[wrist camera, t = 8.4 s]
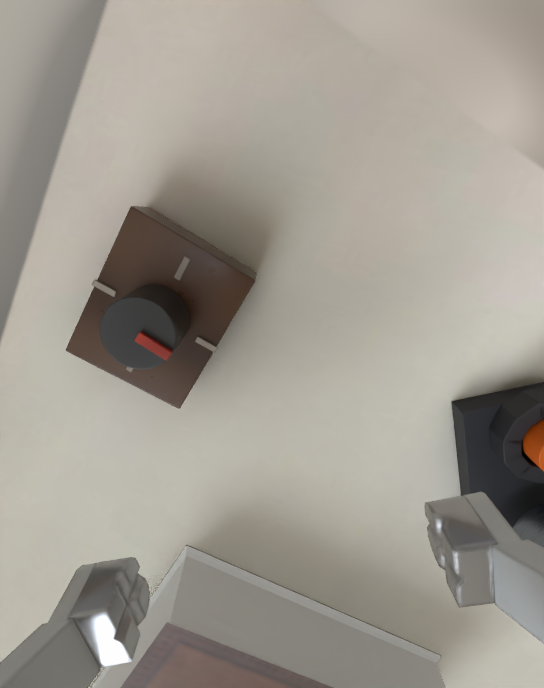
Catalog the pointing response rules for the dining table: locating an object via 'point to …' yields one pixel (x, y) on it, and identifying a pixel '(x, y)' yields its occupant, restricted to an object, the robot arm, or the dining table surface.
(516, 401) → the button base
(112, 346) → the dial knob
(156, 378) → the dial panel
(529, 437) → the orange button
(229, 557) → the dining table surface
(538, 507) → the kettle
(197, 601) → the book
